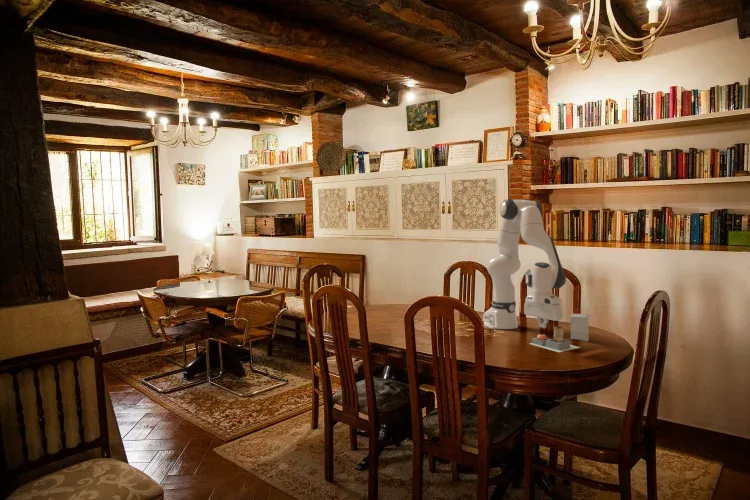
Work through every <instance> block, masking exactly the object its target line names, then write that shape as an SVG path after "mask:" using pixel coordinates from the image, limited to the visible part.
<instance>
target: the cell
mask: <svg viewBox="0 0 750 500" xmlns="http://www.w3.org/2000/svg"><path fill="white" fill-rule="evenodd" d="M553 339H554V342H557V343H561V342H563V340H564V327H562V326H560V325H556V326H553Z"/></svg>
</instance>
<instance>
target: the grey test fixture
mask: <svg viewBox="0 0 750 500" xmlns="http://www.w3.org/2000/svg"><path fill="white" fill-rule="evenodd" d="M528 344H529V345H531V346H536V347H538V348H542V349H546V350H549V351H553V352H556V353H562V352H567V351H571V350H572V351H573V350H575V349H580V348H581V346H576V345H573V344H571V340H567V339H563V342H561V343H557V342H554V338H548V337H546V340H543V341H541V340H538V339H537V337H533V338H531V342H530V343H528Z"/></svg>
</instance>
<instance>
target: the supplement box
mask: <svg viewBox="0 0 750 500" xmlns="http://www.w3.org/2000/svg"><path fill="white" fill-rule="evenodd" d="M589 336H590V335H589V314H585V313H572V314H570V339H571V340H580V341H583V342H588V341H589Z"/></svg>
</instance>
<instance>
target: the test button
mask: <svg viewBox="0 0 750 500" xmlns="http://www.w3.org/2000/svg"><path fill="white" fill-rule="evenodd" d="M536 338H537V339H538V340H541V341H543V340H546V338H547V335H546V334H537V336H536Z"/></svg>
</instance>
